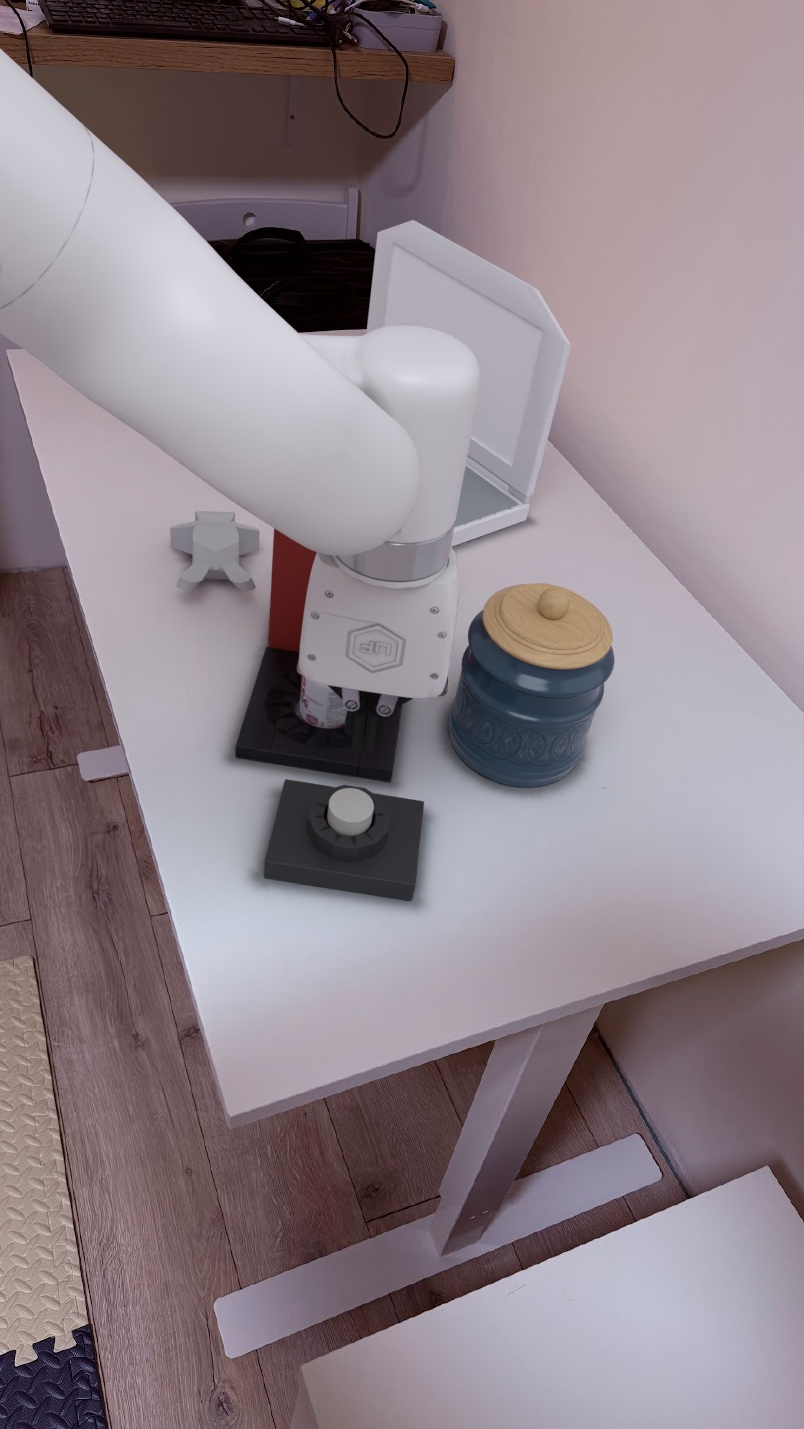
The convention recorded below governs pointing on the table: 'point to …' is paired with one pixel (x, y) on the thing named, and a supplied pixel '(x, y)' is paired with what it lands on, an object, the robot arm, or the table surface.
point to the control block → (345, 843)
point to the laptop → (480, 361)
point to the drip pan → (305, 728)
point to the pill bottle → (321, 705)
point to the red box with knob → (288, 591)
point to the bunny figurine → (215, 548)
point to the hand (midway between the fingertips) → (364, 739)
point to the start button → (350, 811)
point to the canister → (530, 684)
